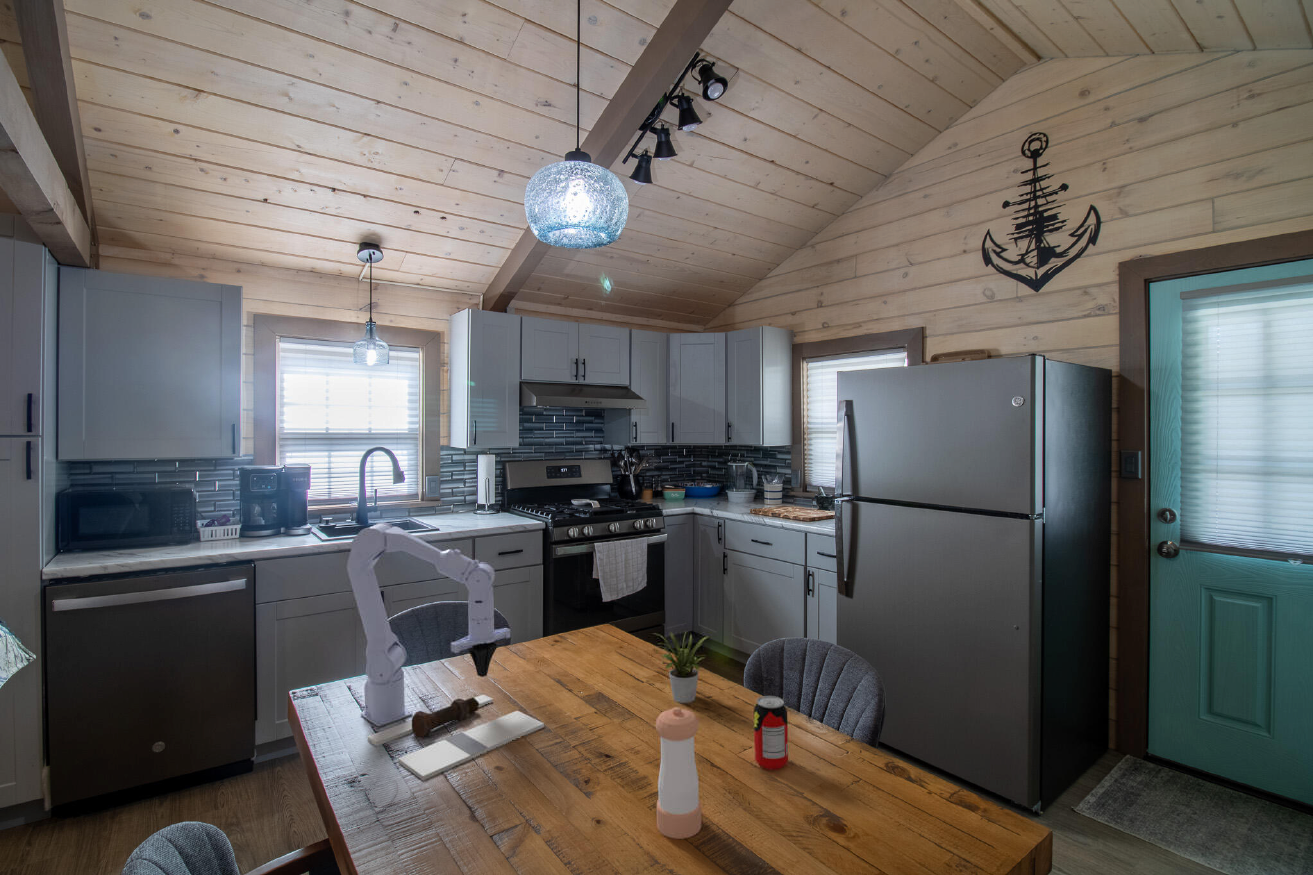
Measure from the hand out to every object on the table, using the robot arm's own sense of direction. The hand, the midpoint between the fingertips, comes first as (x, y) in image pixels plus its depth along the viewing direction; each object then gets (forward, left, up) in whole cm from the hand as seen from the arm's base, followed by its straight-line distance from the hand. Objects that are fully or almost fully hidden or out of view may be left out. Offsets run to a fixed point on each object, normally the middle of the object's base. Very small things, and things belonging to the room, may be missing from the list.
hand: (482, 675), depth 149 cm
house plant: (+31, +34, -9) cm, 47 cm away
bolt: (0, -9, -9) cm, 12 cm away
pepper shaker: (+63, -3, -9) cm, 63 cm away
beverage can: (+64, +23, -9) cm, 68 cm away
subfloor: (+6, -10, -8) cm, 14 cm away
